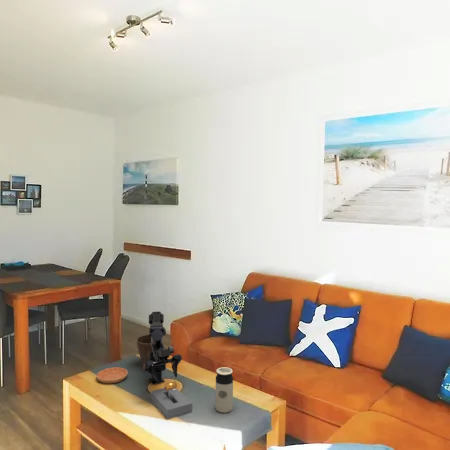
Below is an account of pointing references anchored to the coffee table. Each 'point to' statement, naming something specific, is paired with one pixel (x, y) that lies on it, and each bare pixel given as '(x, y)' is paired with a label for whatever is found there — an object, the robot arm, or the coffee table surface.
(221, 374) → the travel mug
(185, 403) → the block
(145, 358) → the plant pot
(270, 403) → the coffee table surface
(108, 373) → the saucer
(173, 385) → the lever handle
